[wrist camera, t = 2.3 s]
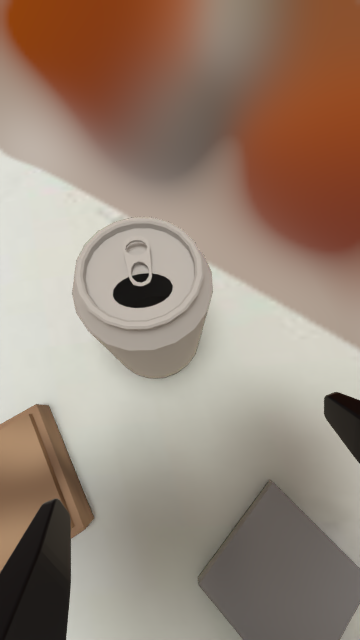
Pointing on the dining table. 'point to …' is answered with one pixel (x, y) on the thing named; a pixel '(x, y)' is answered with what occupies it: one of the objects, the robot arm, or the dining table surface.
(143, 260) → the can
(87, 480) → the dining table surface
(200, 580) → the slate coaster
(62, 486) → the plinth
